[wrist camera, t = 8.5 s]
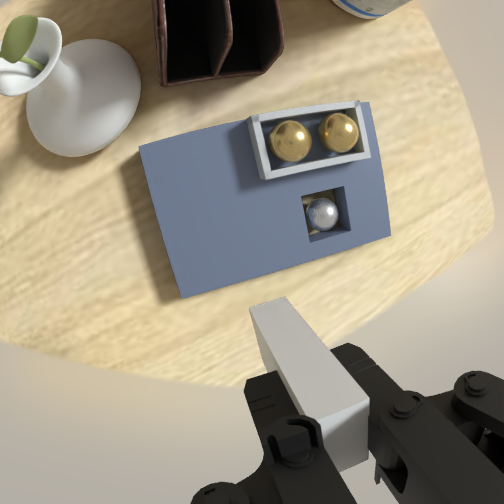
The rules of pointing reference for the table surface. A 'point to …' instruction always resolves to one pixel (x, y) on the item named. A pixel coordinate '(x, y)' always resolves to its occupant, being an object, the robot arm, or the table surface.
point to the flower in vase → (68, 86)
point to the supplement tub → (369, 7)
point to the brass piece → (290, 141)
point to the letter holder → (215, 38)
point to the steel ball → (321, 214)
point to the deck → (260, 197)
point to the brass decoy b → (338, 132)
